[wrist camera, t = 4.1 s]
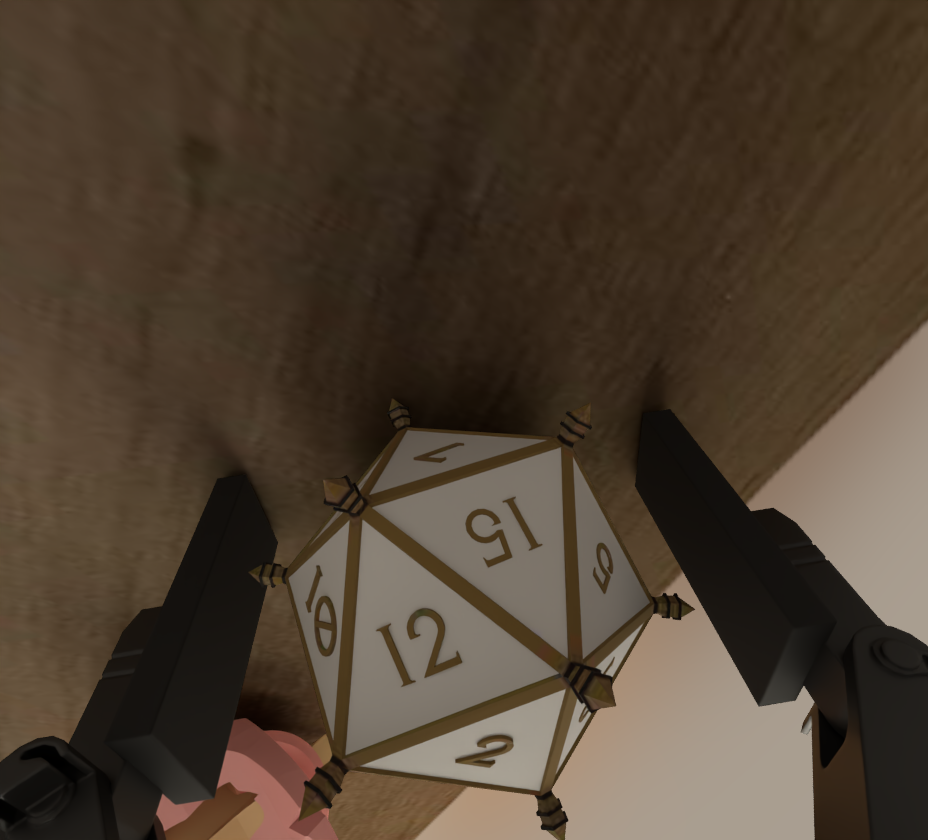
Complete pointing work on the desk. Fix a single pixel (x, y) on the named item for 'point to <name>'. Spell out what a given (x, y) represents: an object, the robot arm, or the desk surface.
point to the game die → (465, 612)
